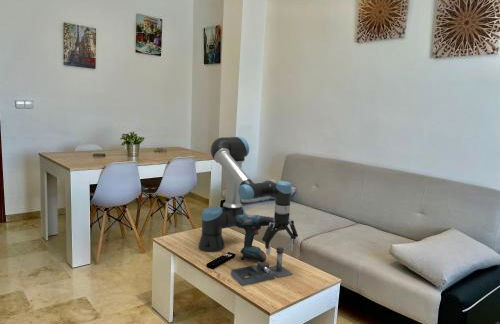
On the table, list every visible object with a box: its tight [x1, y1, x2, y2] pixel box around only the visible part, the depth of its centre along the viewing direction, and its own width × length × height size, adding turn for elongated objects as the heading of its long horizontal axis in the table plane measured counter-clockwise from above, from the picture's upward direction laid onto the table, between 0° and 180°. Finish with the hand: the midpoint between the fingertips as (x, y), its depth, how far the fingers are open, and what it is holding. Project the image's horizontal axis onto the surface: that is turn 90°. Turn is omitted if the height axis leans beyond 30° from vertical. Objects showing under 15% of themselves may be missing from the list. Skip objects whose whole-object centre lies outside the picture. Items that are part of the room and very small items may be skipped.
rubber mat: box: [269, 265, 294, 279], centre depth 197 cm, size 12×9×1 cm
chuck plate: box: [230, 261, 276, 287], centre depth 189 cm, size 12×18×6 cm, turn 119°
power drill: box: [235, 213, 275, 263], centre depth 210 cm, size 9×23×25 cm, turn 78°
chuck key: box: [275, 246, 285, 272], centre depth 196 cm, size 4×6×12 cm, turn 0°
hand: (279, 252), depth 196 cm, fingers open, 13 cm apart
